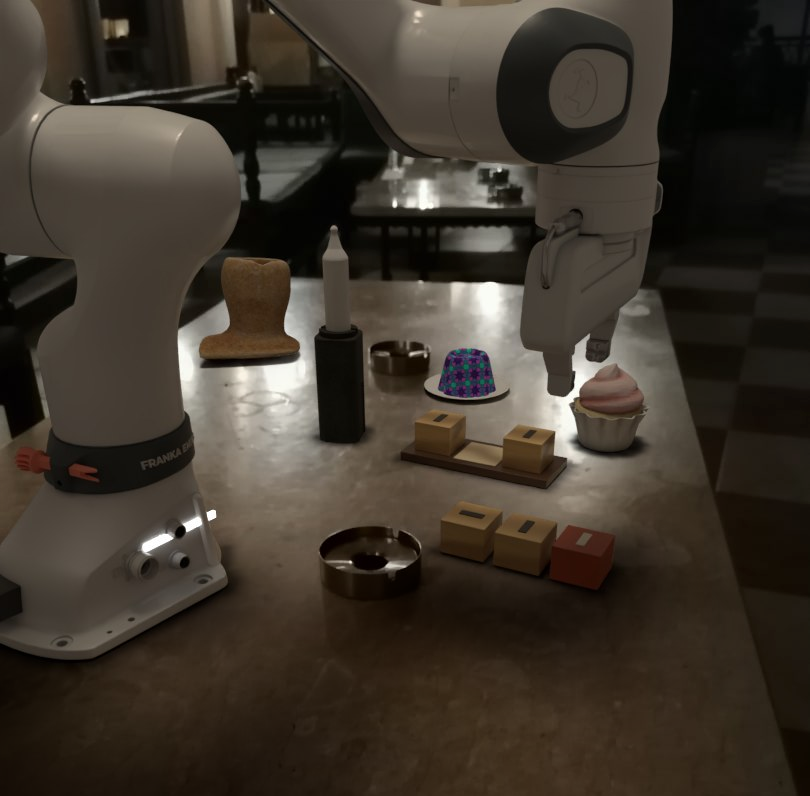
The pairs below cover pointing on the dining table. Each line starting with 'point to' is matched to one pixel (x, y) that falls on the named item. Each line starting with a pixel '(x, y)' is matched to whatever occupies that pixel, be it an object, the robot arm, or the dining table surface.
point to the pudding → (467, 377)
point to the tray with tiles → (485, 450)
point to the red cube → (582, 557)
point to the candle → (339, 354)
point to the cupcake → (608, 410)
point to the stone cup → (253, 311)
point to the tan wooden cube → (524, 543)
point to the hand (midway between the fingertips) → (579, 376)
